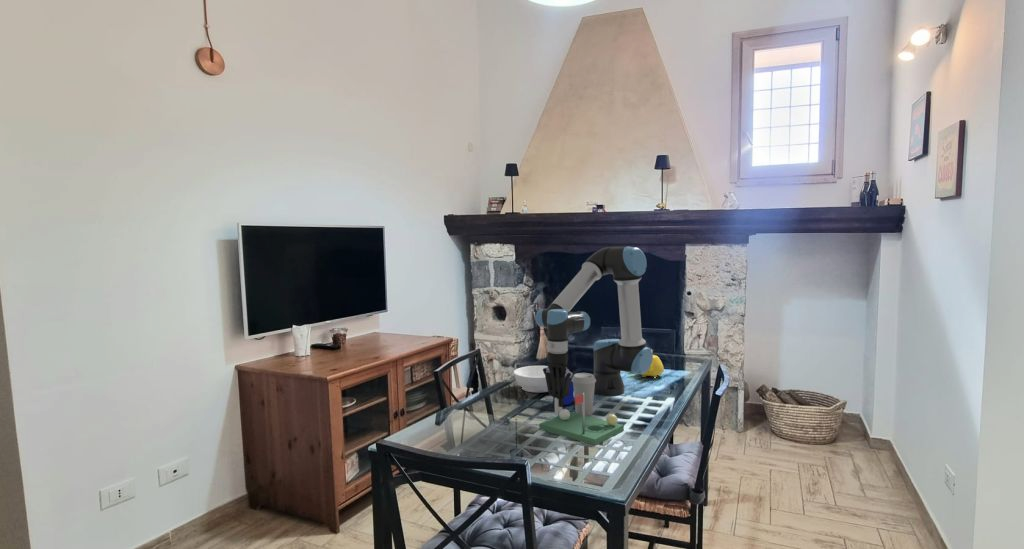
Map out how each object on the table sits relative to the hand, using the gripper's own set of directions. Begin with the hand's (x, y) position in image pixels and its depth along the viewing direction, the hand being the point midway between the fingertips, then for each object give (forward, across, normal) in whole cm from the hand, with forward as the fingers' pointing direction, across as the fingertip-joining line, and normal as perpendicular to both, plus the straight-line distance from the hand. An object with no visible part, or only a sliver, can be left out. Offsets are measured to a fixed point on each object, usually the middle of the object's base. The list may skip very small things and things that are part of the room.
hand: (558, 414), depth 202 cm
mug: (+4, -12, +22) cm, 25 cm away
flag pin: (+2, +16, -9) cm, 19 cm away
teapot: (+4, -10, +83) cm, 84 cm away
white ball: (0, +3, 0) cm, 3 cm away
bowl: (+4, -36, +31) cm, 48 cm away
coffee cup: (+4, 0, +16) cm, 17 cm away
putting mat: (+4, +10, 0) cm, 11 cm away
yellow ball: (0, +19, +6) cm, 20 cm away
